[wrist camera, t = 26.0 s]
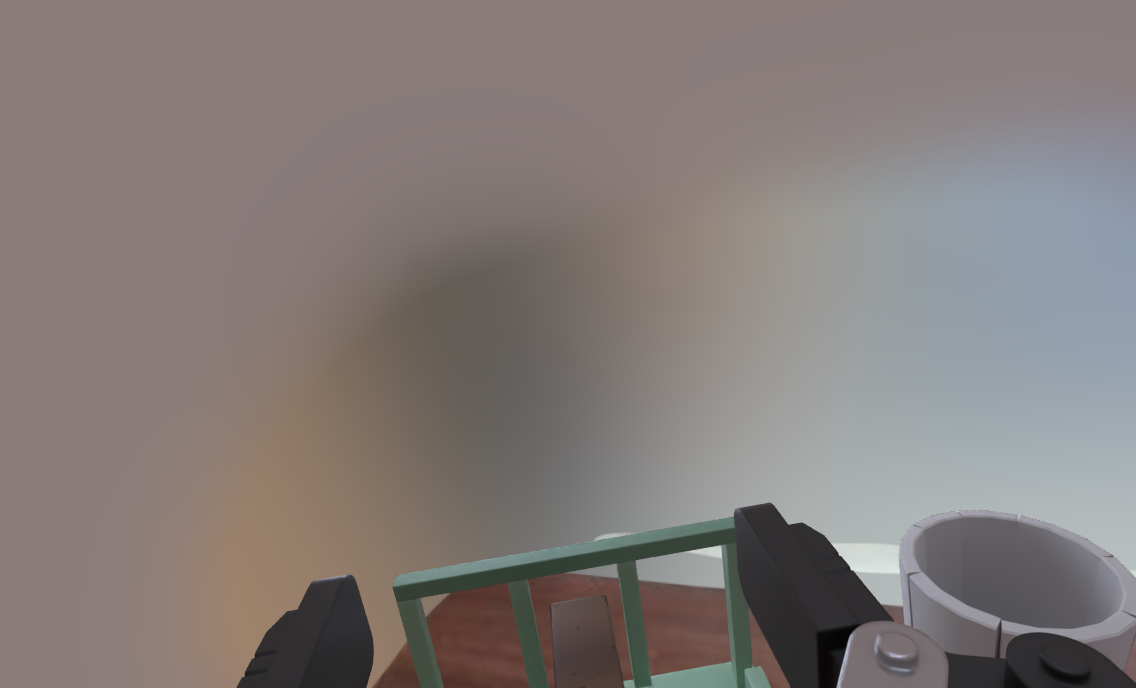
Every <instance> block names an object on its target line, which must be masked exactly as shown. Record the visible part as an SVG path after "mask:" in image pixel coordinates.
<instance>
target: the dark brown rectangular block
mask: <svg viewBox="0 0 1136 688" xmlns="http://www.w3.org/2000/svg"><path fill="white" fill-rule="evenodd" d="M550 615H551V629H552V644H553V659H554V673H555V688H625V687H624V682H623V677H622V672H621V667H620V662H619V657H618V652H617V647H616V642H615V637H614V632H613V627H612V622H611V617H610V612H609V607H608V602H607V597H606V596H605V595H599V596H594V597H588V598H582V599H577V600H571V601H565V602H560V603H554V604H551V605H550Z"/></svg>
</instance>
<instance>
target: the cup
mask: <svg viewBox="0 0 1136 688" xmlns="http://www.w3.org/2000/svg"><path fill="white" fill-rule="evenodd" d="M899 564H900V575H901V585H902V597H903V608H904V623H905V625H908V626H911V627H913V628H916V629H918V630H920V631H921V632H923V633H925V634H926V635H928V636H929V637H931V638H932V639H933V640H934V641H935V642H936V643H937V644H938V645H939V646H940V647H941V648H942V650H943V651H944V652H948V653H953V654H959V655H969V656H981V657H992V658H1004V659H1005V658H1006V648H1007V645H1008V643H1009V642H1010V641H1011V640H1012V639H1013V638H1015V637H1016V636H1018V635H1021V634H1025V633H1031V632H1045V633H1052V634H1058V635H1062V636H1066V637H1069V638H1072V639H1074V640H1077V641H1079V642H1082V643H1084V644H1086V645H1088V646H1090V647H1092V648H1094V649H1095V650H1097V651H1099V652H1100V653H1102V654H1103V655H1105V656H1106V657H1107V658H1108V659H1110V660H1111V661H1112V662H1113V663H1114V664H1115V665H1116V666H1118V667H1119V668H1120V669H1121V670H1122V671H1123V672H1125V668H1126V665H1127V662H1128V659H1129V655H1130V652H1131V649H1132V646H1133V642H1134V639H1135V636H1136V578H1135V577H1134V576H1133V575H1132V574H1131V573H1130V572H1129V571H1128V570H1127V568H1126V567H1125V566H1124V565H1123V564H1121V562H1120V561H1119V560H1118V559H1117V558H1114V556H1113V555H1112V554H1110V553H1108V552H1107V551H1105V550H1103V549H1102V548H1101V547H1099V546H1098V545H1096V544H1094V543H1093V542H1091V541H1090V540H1088V539H1087V538H1084V537H1082V536H1080V535H1077V534H1075V533H1073V532H1070V531H1068V530H1066V529H1063V528H1061V527H1059V526H1056V525H1054V524H1051V523H1047V522H1043V521H1040V520H1036V519H1033V518H1029V517H1025V516H1021V517H1020V519H1019V521H1018V516H1017V514H1009V513H1002V512H995V511H987V510H977V511H976V510H969V511H968V510H965V511H958V513H957V512H956V511H952V512H947V513H942V514H936V515H931V516H929V517H927V518H925V519H923V520H921V521H919V522H918V523H915V524H913V526H911V527H910V528H909V529H908V530H907V532H906V533H905V534H904V535H903V536H902V538H901V539H900V548H899Z"/></svg>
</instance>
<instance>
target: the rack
mask: <svg viewBox="0 0 1136 688" xmlns="http://www.w3.org/2000/svg"><path fill="white" fill-rule="evenodd" d="M719 545H721V546H722V558H723V569H724V580H725V593H726V605H727V617H728V629H729V640H730V652H731V662H727V663H721V664H716V665H710V666H705V667H699V668H694V669H688V670H683V671H677V672H672V673H666V674H661V675H655V676H651V673H650V665H649V658H648V650H647V643H646V635H645V628H644V621H643V613H642V606H641V598H640V591H639V583H638V576H637V568H636V562H635V560H639V559H645V558H650V557H656V556H661V555H668V554H673V553H679V552H685V551H690V550H696V549H702V548H707V547H713V546H719ZM611 564H616V565H617V571H618V578H619V585H620V592H621V599H622V606H623V613H624V620H625V627H626V633H627V640H628V647H629V654H630V661H631V668H632V675H633V680H628V681H623V682H624V687H625V688H771V686H770V683H769V681H768V679H767V677H766V675H765V673H764V671H763V669H762V667H760V666H759V667H754V665H753V663H752V650H751V636H750V622H749V608H748V604H747V602H746V599H745V597H744V594H743V591H742V588H741V584H740V580H739V574H738V564H737V551H736V538H735V525H734V517H729V518H724V519H718V520H713V521H707V522H701V523H695V524H689V525H684V526H678V527H672V528H666V529H661V530H655V531H649V532H644V533H637V534H632V535H626V536H620V537H615V538H609V539H603V540H597V541H592V542H586V543H580V544H574V545H569V546H563V547H557V548H552V549H546V550H540V551H534V552H528V553H523V554H517V555H512V556H505V557H500V558H494V559H488V560H482V561H477V562H471V563H465V564H459V565H454V566H448V567H443V568H436V569H431V570H426V571H419V572H414V573H408V574H402V575H397V576H396V578H395V581H394V585H393V590H394V594H395V597H396V601H397V605H398V608H399V612H400V615H401V619H402V623H403V626H404V630H405V633H406V637H407V641H408V644H409V648H410V652H411V655H412V659H413V663H414V666H415V670H416V673H417V677H418V681H419V684H420V688H444V686H443V682H442V679H441V675H440V671H439V667H438V663H437V659H436V656H435V652H434V648H433V644H432V640H431V637H430V633H429V629H428V625H427V621H426V617H425V614H424V610H423V606H422V602H421V598H422V597H428V596H433V595H439V594H445V593H451V592H457V591H462V590H468V589H474V588H479V587H485V586H491V585H497V584H502V583H508V587H509V592H510V596H511V601H512V606H513V611H514V615H515V620H516V625H517V630H518V635H519V639H520V644H521V649H522V654H523V658H524V663H525V668H526V673H527V677H528V682H529V687H530V688H549V684H548V679H547V674H546V669H545V664H544V659H543V654H542V649H541V643H540V638H539V633H538V628H537V623H536V618H535V613H534V608H533V603H532V598H531V593H530V588H529V583H528V579H531V578H536V577H542V576H548V575H554V574H559V573H565V572H571V571H576V570H582V569H588V568H593V567H599V566H605V565H611Z"/></svg>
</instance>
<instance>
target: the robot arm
mask: <svg viewBox="0 0 1136 688" xmlns="http://www.w3.org/2000/svg"><path fill="white" fill-rule="evenodd" d="M734 525H735V538H736V551H737V564H738V574H739V580H740V584H741V588H742V591H743V594H744V597H745V599H746V602H747V604H748V606H749V608H750V610H751V611H752V613H753V615H754V617H755V619H756V621H757V623H758V625H759V627H760V629H761V631H762V633H763V635H764V636H765V638H766V640H767V642H768V644H769V646H770V648H771V650H772V652H773V654H774V656H775V658H776V660H777V662H778V663H779V665H780V667H781V669H782V671H783V673H784V675H785V677H786V679H787V681H788V683H789V685H790V687H791V688H1136V683H1135V682H1134V681H1133V680H1132V679H1131V678H1130V677H1129V676H1127V675H1126V674H1125V673H1124V672H1123V671H1122V670H1121V669H1120V668H1119V667H1118V666H1116V665H1115V664H1114V663H1113V662H1112V661H1111V660H1110V659H1108V658H1107V657H1106V656H1105V655H1103V654H1102V653H1100V652H1099V651H1097V650H1095V649H1094V648H1092V647H1090V646H1088V645H1086V644H1084V643H1082V642H1079V641H1077V640H1074V639H1072V638H1069V637H1066V636H1062V635H1058V634H1052V633H1045V632H1031V633H1025V634H1021V635H1018V636H1016V637H1015V638H1013V639H1012V640H1011V641H1010V642H1009V643H1008V645H1007V648H1006V658H1005V659H1004V658H992V657H981V656H969V655H959V654H953V653H948V652H944V651H943V650H942V648H941V647H940V646H939V645H938V644H937V643H936V642H935V641H934V640H933V639H932V638H931V637H929V636H928V635H926V634H925V633H923V632H921V631H920V630H918V629H916V628H913V627H911V626H908V625H905V624H902V623H897V622H895V621H894V620H893V619H892V618H891V616H890V615H889V614H888V613H887V611H886V610H885V609H884V608H883V607H882V605H881V604H880V603H879V602H878V601H877V599H876V598H875V597H874V596H873V594H872V593H871V592H870V591H869V590H868V589H867V587H866V586H865V585H864V584H863V582H862V581H861V580H860V579H859V577H858V576H857V575H856V574H855V572H854V571H853V570H852V571H851V570H850V566H849V565H848V564H847V563H846V561H845V560H844V559H843V558H842V557H841V556H839V554H838V552H837V550H836V549H835V548H834V547H833V546H832V544H831V543H830V542H829V541H828V540H827V538H826V537H825V536H824V535H823V534H821V533H819V532H817V531H816V530H814V529H812V528H811V527H809V526H807V525H806V524H804V523H797V524H791V525H788V524H787V522H786V521H785V520H784V518H783V517H782V516H781V514H780V513H779V512H778V510H777V509H776V508H775V506H774V505H773V504H772V503H766V504H760V505H754V506H749V507H743V508H737V509H735V512H734ZM373 655H374V648H373V638H372V633H371V630H370V626H369V623H368V620H367V616H366V613H365V610H364V606H363V603H362V600H361V596H360V593H359V589H358V586H357V583H356V580H355V578H354V577H353V576H352V575H345V576H339V577H333V578H328V579H322V580H316V581H313V582H312V583H311V584H310V586H309V588H308V589H307V591H306V593H305V596H304V598H303V600H302V602H301V604H300V606H299V608H298V610H293V611H287V612H286V613H285V614H284V615H283V616H282V617H281V618H280V619H279V620H278V621H277V622H276V623H275V624H274V625H273V626H272V627H271V628H270V629H269V630H268V631H267V632H266V634H265V636H264V638H263V640H262V642H261V643H260V645H259V647H258V649H257V651H256V653H255V658H254V659H252V660H251V662H250V664H249V666H248V667H247V669H246V671H245V677H243V678H242V679H241V681H240V682H239V684H238V686H237V688H366V687H367V683H368V679H369V676H370V672H371V669H372V665H373Z"/></svg>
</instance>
